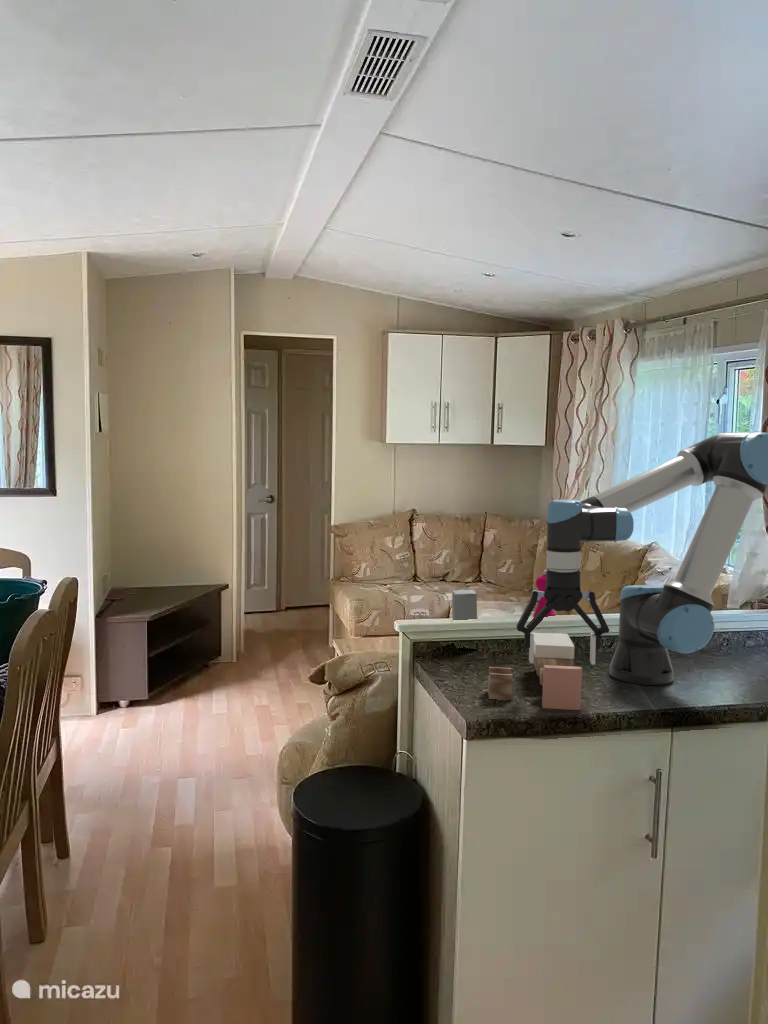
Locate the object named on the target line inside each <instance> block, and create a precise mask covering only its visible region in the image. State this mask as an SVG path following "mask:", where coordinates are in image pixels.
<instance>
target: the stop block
mask: <svg viewBox="0 0 768 1024" xmlns="http://www.w3.org/2000/svg"><path fill="white" fill-rule="evenodd" d="M582 681H583V668H582V666H573V667H572V666H552V665H544V671H543V686H542V698H541V707H542V708H543V709H551V710H552V709H553V710H554V709H555V710H556V709H557V710H569V711H571V710H572V711H581V704H582V702H581V701H582V686H583V684H582Z"/></svg>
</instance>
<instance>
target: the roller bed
mask: <svg viewBox="0 0 768 1024" xmlns="http://www.w3.org/2000/svg"><path fill="white" fill-rule="evenodd" d="M532 664H533V665H534V669H535V670H536V676H538V677H539V678H540V668H544V665H552V666H572V667H574V659H559V658H539V657H535V655H534V660H533V663H532ZM541 686H542V687H543V685H541Z"/></svg>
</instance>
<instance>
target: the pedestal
mask: <svg viewBox="0 0 768 1024" xmlns="http://www.w3.org/2000/svg"><path fill="white" fill-rule="evenodd" d="M513 677H514V675H513V674H512V668H511V667H501V666H500V667H499V666H489V667H488V682H487V683H488V688H487V689H488V690H487V692H488V700H489V699H497V700H496V701H508V700H512V699H513V679H514V678H513ZM512 701H513V700H512Z"/></svg>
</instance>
